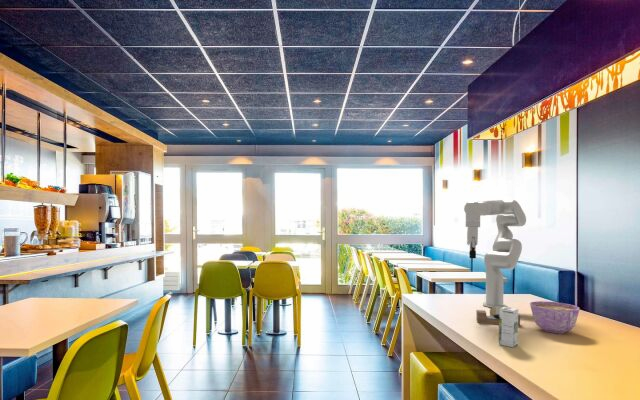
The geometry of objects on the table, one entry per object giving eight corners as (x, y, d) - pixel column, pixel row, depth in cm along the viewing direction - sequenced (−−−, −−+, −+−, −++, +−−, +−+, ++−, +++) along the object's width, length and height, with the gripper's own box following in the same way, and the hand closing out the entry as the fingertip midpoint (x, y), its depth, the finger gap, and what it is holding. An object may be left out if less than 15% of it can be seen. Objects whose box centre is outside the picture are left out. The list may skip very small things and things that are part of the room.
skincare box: (501, 310, 221) (508, 305, 210) (502, 319, 219) (509, 315, 208) (488, 309, 222) (494, 305, 211) (489, 318, 220) (495, 314, 209)
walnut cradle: (476, 319, 216) (476, 309, 217) (517, 323, 212) (517, 312, 212) (477, 322, 211) (477, 312, 211) (519, 325, 206) (520, 315, 206)
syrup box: (503, 341, 178) (503, 306, 178) (518, 344, 174) (518, 308, 175) (498, 344, 173) (498, 308, 174) (514, 347, 170) (514, 310, 170)
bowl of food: (587, 338, 186) (587, 311, 186) (536, 335, 190) (536, 308, 190) (570, 327, 205) (570, 302, 206) (524, 324, 209) (524, 300, 210)
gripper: (464, 224, 245) (464, 256, 244) (466, 224, 231) (466, 259, 230) (478, 224, 243) (478, 257, 242) (481, 224, 229) (481, 259, 228)
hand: (472, 258), depth 236 cm, fingers closed
